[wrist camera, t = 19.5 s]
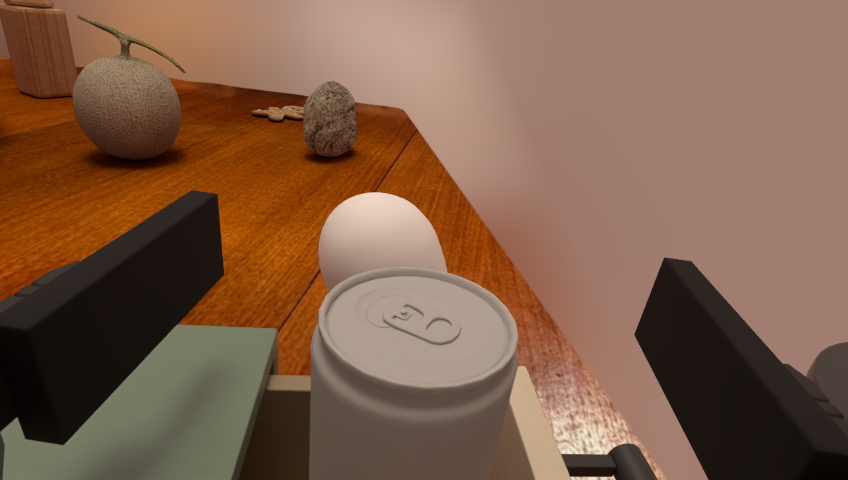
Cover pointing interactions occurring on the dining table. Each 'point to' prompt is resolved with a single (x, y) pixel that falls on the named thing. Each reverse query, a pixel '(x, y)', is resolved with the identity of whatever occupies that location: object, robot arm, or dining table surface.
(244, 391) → the cabinet
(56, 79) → the decorative item
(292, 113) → the cookie
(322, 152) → the stone
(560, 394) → the dining table surface
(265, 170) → the dining table surface
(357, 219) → the figurine
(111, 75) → the fruit
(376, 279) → the beverage can
